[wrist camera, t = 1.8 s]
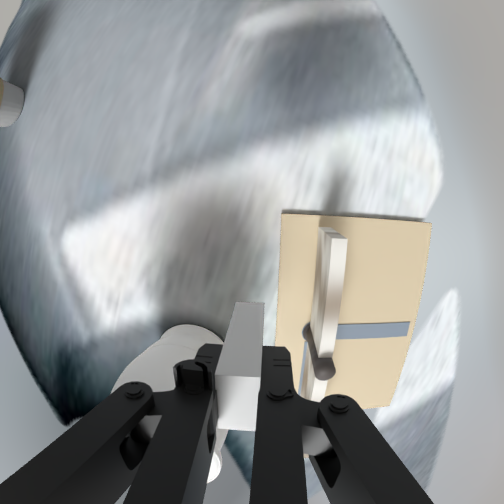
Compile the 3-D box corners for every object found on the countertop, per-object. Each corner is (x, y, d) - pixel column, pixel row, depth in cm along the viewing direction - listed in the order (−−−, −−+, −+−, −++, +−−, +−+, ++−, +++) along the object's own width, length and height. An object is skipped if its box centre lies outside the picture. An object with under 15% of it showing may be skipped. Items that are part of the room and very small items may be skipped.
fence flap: (315, 226, 26) (330, 240, 20) (334, 227, 26) (354, 241, 19) (305, 341, 29) (313, 380, 22) (322, 341, 29) (333, 380, 22)
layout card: (281, 213, 27) (281, 214, 26) (429, 222, 26) (432, 223, 26) (270, 410, 32) (270, 412, 32) (388, 404, 31) (389, 406, 31)
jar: (139, 360, 32) (82, 443, 17) (172, 296, 30) (103, 380, 15) (214, 401, 33) (189, 499, 18) (258, 346, 30) (248, 455, 16)
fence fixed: (303, 321, 29) (312, 360, 22) (326, 321, 29) (341, 359, 22) (292, 415, 32) (294, 458, 25) (310, 415, 32) (316, 457, 25)
